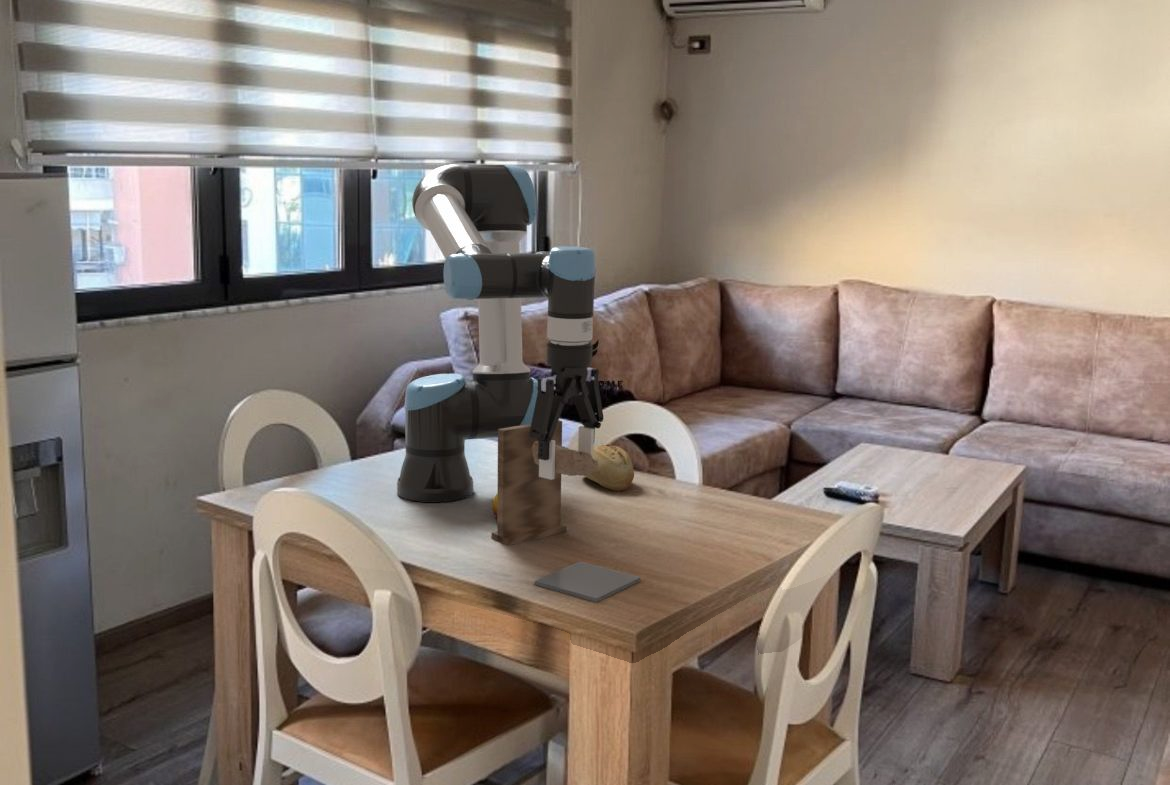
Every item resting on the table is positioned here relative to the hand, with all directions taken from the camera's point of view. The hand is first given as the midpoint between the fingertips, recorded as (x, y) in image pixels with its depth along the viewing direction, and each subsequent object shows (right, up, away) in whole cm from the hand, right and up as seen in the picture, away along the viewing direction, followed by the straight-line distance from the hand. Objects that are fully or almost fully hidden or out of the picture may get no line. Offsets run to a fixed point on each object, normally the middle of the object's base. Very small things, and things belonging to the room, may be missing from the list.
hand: (566, 470), depth 199 cm
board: (-7, -12, +11) cm, 17 cm away
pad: (+4, -17, -13) cm, 21 cm away
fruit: (-9, -10, +21) cm, 25 cm away
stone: (-1, 0, 0) cm, 1 cm away
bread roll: (+7, -6, +45) cm, 46 cm away
